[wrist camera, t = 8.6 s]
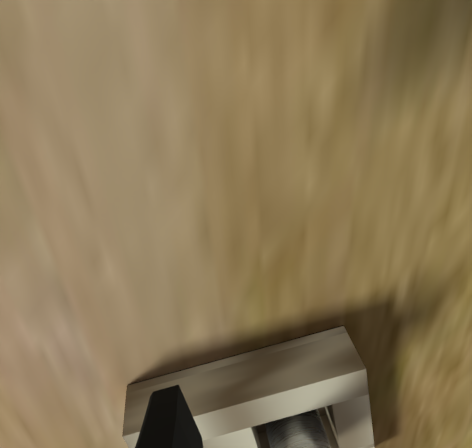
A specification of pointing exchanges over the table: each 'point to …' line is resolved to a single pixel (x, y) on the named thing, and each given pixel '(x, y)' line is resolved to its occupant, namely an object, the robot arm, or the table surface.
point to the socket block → (269, 393)
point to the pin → (298, 431)
